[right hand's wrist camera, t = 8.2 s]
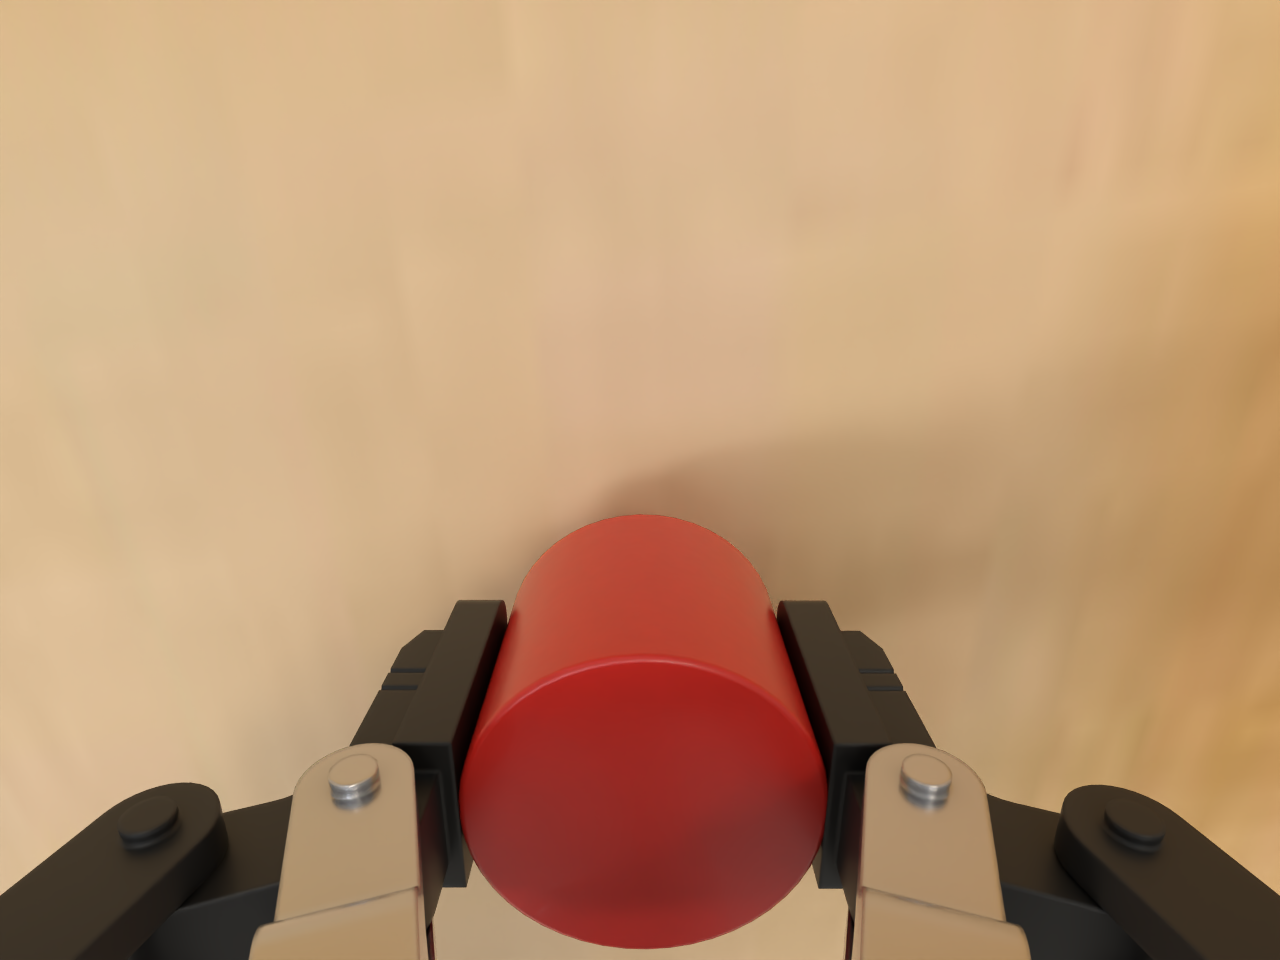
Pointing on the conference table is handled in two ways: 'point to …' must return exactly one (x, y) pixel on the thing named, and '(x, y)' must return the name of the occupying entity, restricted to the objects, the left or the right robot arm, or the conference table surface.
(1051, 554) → the conference table surface
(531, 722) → the cylinder
